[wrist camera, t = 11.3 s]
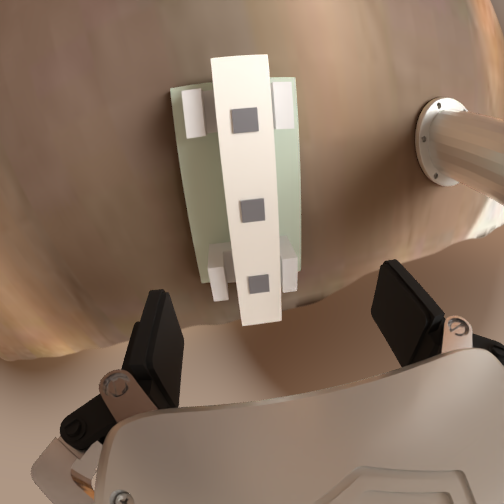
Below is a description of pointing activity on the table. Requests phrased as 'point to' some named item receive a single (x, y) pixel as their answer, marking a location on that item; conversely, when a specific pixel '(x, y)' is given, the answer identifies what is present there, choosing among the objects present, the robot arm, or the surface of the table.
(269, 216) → the power strip
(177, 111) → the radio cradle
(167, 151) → the table surface
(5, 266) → the table surface
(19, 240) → the table surface
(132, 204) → the table surface
